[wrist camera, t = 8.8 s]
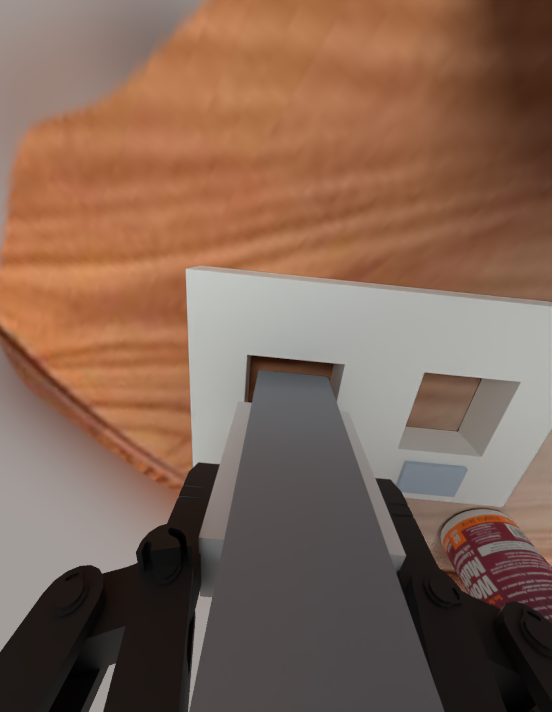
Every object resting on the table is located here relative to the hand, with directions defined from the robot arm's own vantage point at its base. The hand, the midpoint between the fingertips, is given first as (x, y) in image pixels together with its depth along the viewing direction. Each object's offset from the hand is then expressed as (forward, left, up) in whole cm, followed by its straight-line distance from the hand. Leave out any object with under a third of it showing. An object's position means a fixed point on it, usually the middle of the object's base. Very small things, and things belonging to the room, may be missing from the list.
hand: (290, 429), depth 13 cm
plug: (0, 0, -3) cm, 3 cm away
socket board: (0, +5, -5) cm, 7 cm away
